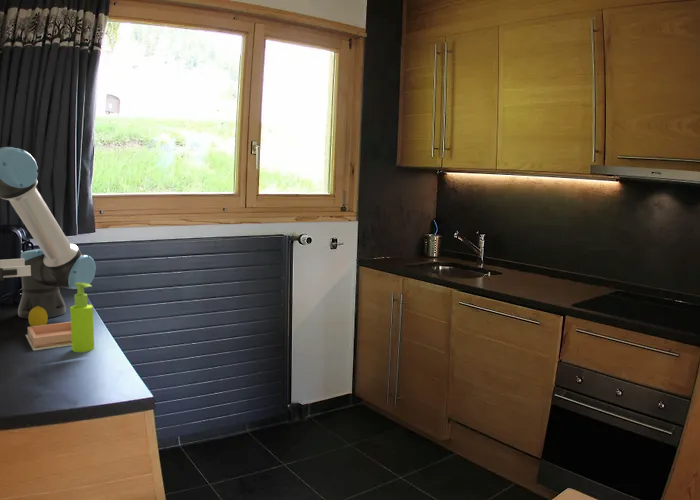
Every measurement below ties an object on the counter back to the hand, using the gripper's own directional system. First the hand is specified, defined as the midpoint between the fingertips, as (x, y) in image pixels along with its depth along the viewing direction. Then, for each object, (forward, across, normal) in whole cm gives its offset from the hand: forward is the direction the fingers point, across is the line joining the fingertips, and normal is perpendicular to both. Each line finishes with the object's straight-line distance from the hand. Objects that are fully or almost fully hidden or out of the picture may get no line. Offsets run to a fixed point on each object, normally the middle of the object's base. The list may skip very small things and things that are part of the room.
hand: (27, 266), depth 174 cm
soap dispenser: (+13, +6, -25) cm, 29 cm away
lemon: (+5, -24, -25) cm, 35 cm away
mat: (+8, -9, -25) cm, 27 cm away
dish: (+8, -9, -24) cm, 27 cm away
